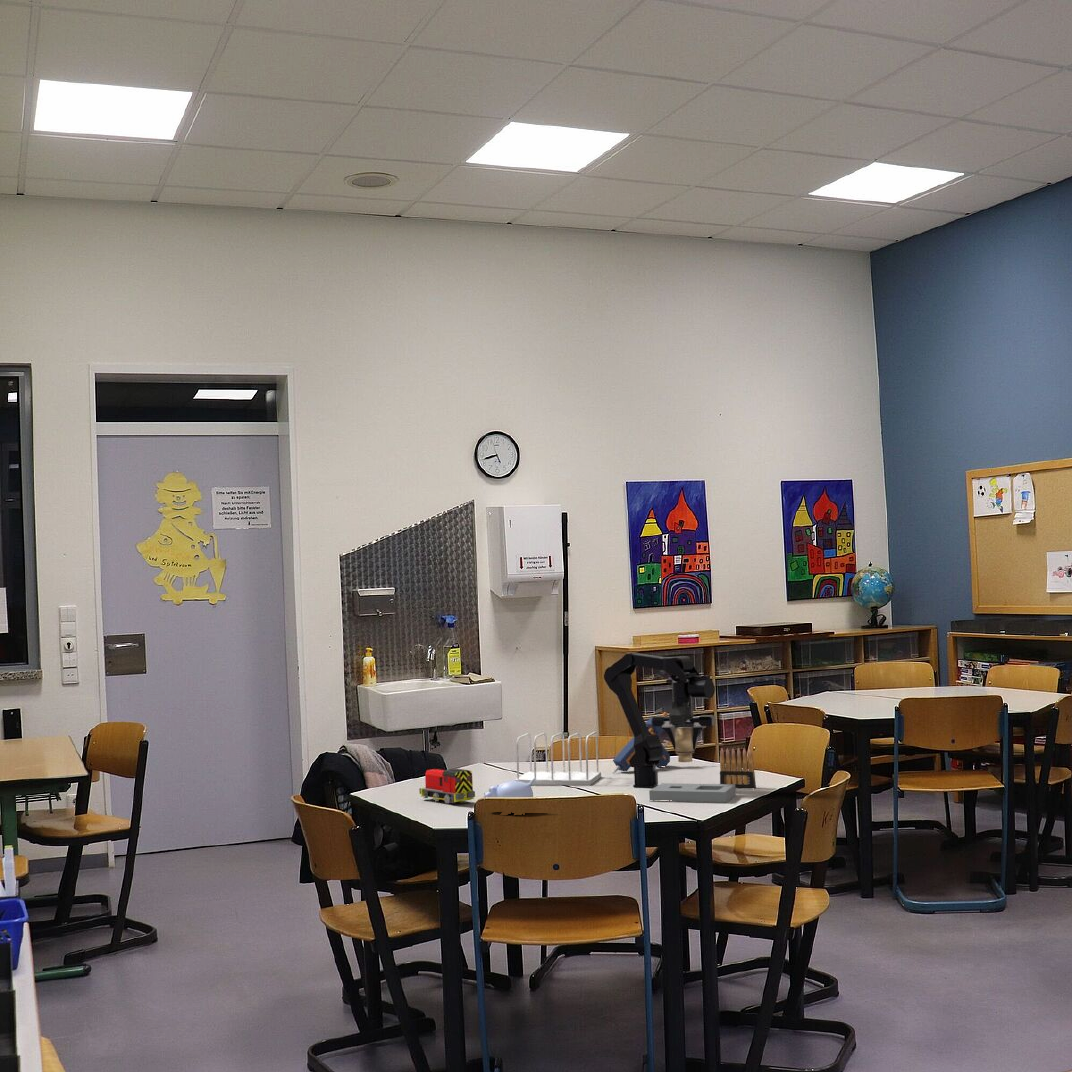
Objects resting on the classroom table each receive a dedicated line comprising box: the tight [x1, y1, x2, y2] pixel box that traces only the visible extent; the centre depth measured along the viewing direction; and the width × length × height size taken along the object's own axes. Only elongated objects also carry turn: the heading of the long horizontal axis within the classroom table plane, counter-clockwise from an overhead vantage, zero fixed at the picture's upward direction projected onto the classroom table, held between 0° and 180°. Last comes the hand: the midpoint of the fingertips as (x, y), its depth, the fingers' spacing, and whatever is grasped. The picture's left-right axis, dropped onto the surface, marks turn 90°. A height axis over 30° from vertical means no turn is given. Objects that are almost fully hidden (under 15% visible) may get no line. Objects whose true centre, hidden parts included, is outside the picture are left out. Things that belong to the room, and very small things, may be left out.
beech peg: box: [674, 726, 695, 763], centre depth 355 cm, size 6×6×10 cm
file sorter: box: [514, 731, 602, 786], centre depth 383 cm, size 25×17×16 cm
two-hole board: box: [649, 782, 737, 804], centre depth 339 cm, size 22×14×3 cm, turn 69°
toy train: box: [418, 767, 476, 805], centre depth 351 cm, size 7×19×10 cm, turn 41°
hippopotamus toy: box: [483, 778, 536, 799], centre depth 328 cm, size 11×15×10 cm
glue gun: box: [612, 711, 671, 774], centre depth 403 cm, size 6×31×15 cm
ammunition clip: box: [719, 747, 757, 789], centre depth 355 cm, size 11×2×12 cm, turn 65°
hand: (684, 749), depth 355 cm, fingers closed on beech peg, 6 cm apart
